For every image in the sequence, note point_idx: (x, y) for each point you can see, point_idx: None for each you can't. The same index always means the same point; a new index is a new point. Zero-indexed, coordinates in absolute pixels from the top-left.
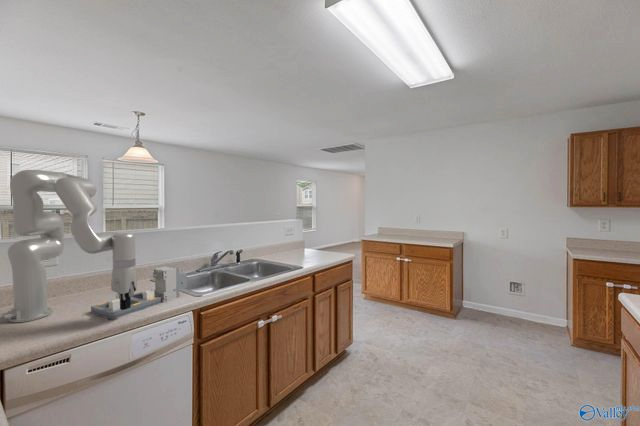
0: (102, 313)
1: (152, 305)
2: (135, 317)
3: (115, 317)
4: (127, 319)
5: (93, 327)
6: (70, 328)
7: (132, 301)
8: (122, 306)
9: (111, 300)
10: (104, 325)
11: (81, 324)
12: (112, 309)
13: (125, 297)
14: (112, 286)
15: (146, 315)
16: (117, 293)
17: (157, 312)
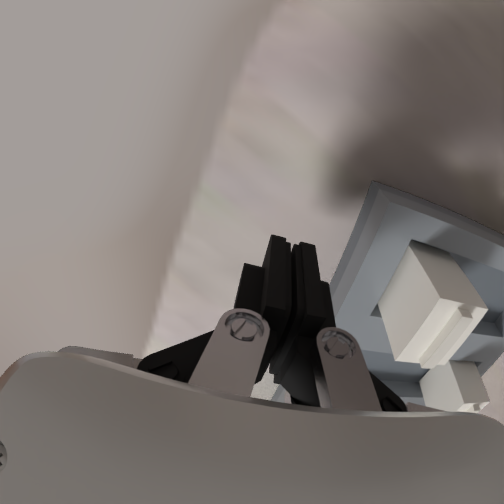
0: (476, 227)
1: (278, 387)
2: (221, 250)
3: (362, 212)
4: (247, 210)
5: (378, 36)
6: (499, 30)
7: (394, 389)
8: (271, 255)
9: (469, 321)
10: (327, 77)
11: (495, 87)
12: (420, 256)
13: (211, 349)
14: (498, 491)
15: (181, 288)
16: (483, 404)
17: (164, 328)
